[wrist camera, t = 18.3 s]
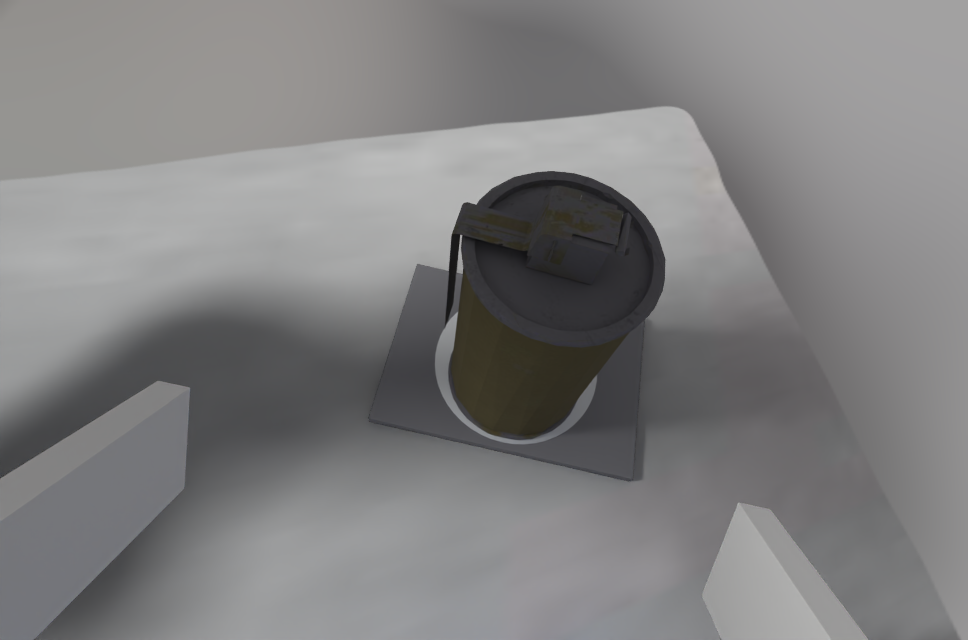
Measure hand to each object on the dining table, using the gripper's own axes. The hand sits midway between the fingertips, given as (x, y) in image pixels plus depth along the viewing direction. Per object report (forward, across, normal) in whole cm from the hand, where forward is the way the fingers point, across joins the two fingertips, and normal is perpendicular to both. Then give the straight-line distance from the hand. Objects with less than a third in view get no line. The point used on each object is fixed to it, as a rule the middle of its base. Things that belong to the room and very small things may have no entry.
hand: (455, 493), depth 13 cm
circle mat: (+30, +4, -8) cm, 31 cm away
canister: (+29, +3, -8) cm, 30 cm away
